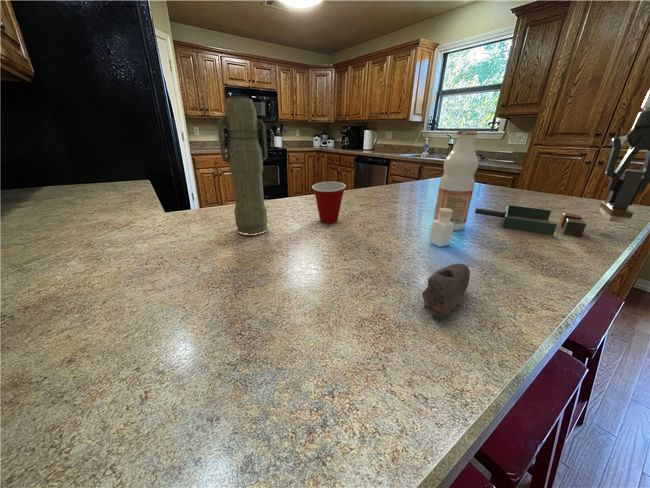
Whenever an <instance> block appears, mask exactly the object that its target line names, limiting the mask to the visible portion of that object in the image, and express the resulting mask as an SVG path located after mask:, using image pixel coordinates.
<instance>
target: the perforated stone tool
mask: <svg viewBox="0 0 650 488" xmlns="http://www.w3.org/2000/svg"><path fill="white" fill-rule="evenodd" d="M470 278H471V271H470V267H469V266H468V265H466V264H464V263H453V264H450V265H447V266H445V267H442V268H441V269H439V270H436V271H435V272H434V273H432V275H430V276H429V277H428V278H427V287H426V288H425V289H424V290H423V291H422V293H421V295H422V296H421V297H422V299H423V302H424V303H423V304H424V305H423V306H424V308H425V309H426V310H428V312H429V313H432V314H433V315H434V316H436V317H437V318H439V319H442V318H444V317H446V316H447V315H448V314H449V313H451V312H452V311H453V310H454V309H455V307H456V306H457V305H458V304H459V302H461V300H462V298H463V296H464V295H465V293H466V290H467V289H468V286H469V283H470Z"/></svg>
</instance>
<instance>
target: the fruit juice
mask: <svg viewBox="0 0 650 488" xmlns="http://www.w3.org/2000/svg"><path fill="white" fill-rule="evenodd" d="M477 134H478V131H477V130H457V133H456V138H457V139H456V142H455V144H454V145H453V147H452V149H451V151H450V152H449V154H448V155H447V156H446V157H445V158H444V161H443V174H442V175H441V177H440V182H439V184H438V191H437V197H436V202H435V208H434V214H433V219H432V223H433V222H434V221H435V220H438V214H439V209H440V208H448V209H451V210H453V212H452V217H451V220H450V221H451V222H452V223H453V224H454V228H453V231H461V230H463V229H464V228H465V227H466V222H467V219H468V214H469V210H470V205H471V202H472V197H473V193H474V188H475V174H476V172H477V170H478V168H479V157H478V156H477V153H476V147H475V145H476V144H475V139H476V138H477Z"/></svg>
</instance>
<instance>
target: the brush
mask: <svg viewBox="0 0 650 488" xmlns="http://www.w3.org/2000/svg"><path fill="white" fill-rule="evenodd" d="M644 173H645V172H643V171H642V170H640V169H629V168H627V169H626V170H625V172H624V173H623V175H622V176H621V177H620V178H619V179H622V180H623V182H622V184H621V186H620V188H619V190H618V192H617V195H616V197H615V199H614V201H613V203H608V202H607V201H601V203H600V205H599V207H600V208H599V210H598V211H599V213H600V214H601V215H602V216H603V217H604V218H605V219H606V220H607V221H609V222H613V223H614V222H615V223H622V224H628V223H629V221H630V219H632V218H633V215H634V212H633V211H632V210H630V209H629V207H630V205H629V204H630V202H631V200H632V198H633V196H634V194H635V192H636V190H637V188H638V186H639V184H640V182H641V180H642V178H643V176H644Z"/></svg>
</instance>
